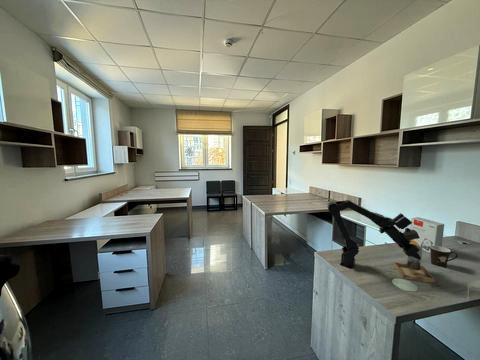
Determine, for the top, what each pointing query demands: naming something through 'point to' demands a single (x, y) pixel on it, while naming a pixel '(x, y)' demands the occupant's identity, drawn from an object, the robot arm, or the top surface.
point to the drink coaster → (404, 285)
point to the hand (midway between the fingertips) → (417, 256)
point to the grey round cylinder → (415, 260)
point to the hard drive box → (427, 233)
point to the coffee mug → (440, 255)
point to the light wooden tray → (414, 273)
